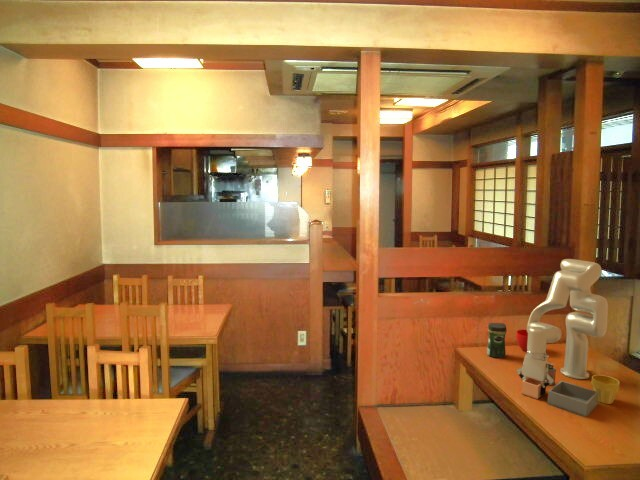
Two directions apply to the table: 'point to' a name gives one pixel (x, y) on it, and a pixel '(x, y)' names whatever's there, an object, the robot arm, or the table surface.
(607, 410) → the table surface
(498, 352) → the coffee jar
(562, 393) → the grey crate
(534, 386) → the terracotta crate
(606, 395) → the plant pot
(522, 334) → the ceramic cup
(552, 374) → the lighter
